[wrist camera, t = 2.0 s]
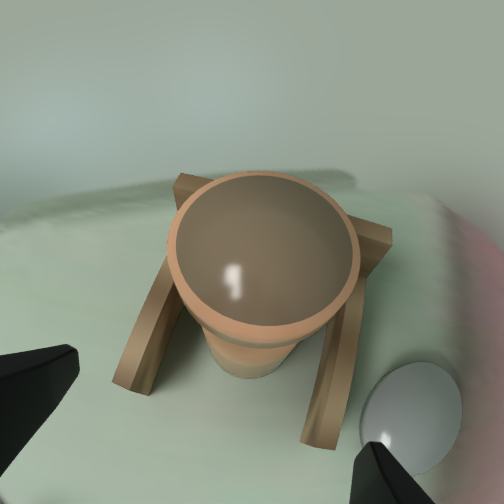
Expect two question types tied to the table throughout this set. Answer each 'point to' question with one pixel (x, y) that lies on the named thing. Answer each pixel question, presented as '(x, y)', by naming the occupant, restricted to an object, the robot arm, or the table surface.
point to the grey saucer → (414, 415)
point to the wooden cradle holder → (335, 346)
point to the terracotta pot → (261, 266)
